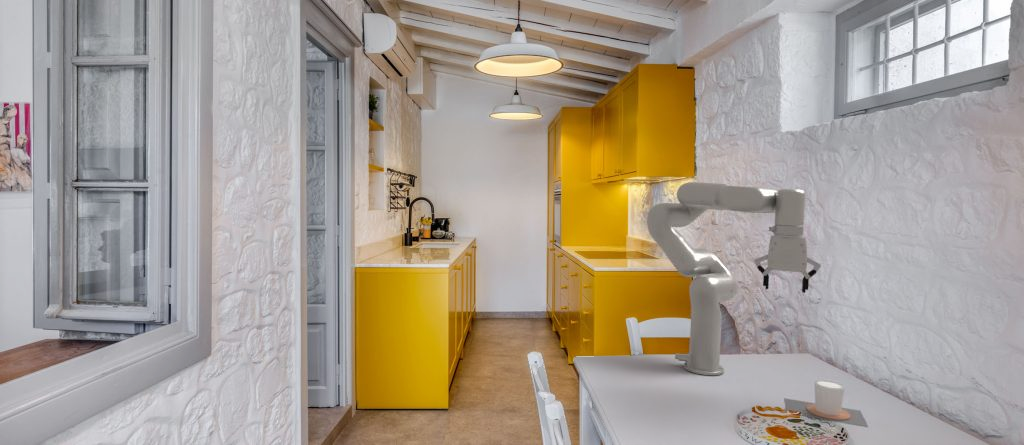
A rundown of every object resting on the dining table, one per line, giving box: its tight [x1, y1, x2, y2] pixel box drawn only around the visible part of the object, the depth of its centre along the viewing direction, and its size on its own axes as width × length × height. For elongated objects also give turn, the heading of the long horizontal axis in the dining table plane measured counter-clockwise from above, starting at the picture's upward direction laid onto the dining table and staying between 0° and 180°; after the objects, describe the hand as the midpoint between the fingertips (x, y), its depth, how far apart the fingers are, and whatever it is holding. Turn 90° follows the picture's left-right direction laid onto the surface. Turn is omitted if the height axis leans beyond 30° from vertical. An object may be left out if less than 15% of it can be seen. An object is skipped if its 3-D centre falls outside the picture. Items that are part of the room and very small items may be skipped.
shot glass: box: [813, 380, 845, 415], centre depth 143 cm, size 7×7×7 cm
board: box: [784, 398, 869, 428], centre depth 144 cm, size 18×12×2 cm, turn 66°
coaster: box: [807, 404, 851, 420], centre depth 143 cm, size 10×10×1 cm
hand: (785, 290), depth 160 cm, fingers open, 9 cm apart
